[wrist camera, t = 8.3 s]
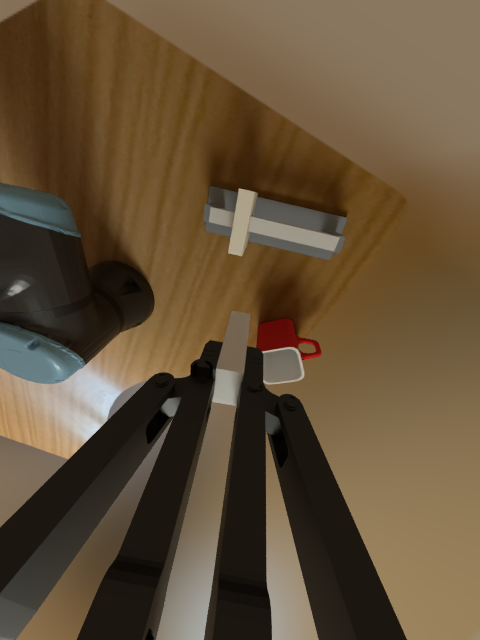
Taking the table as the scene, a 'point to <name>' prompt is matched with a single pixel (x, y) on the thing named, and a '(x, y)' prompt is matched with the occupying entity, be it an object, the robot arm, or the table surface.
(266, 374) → the mug
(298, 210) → the grey slide rail
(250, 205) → the thick cream end plate
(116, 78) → the table surface
